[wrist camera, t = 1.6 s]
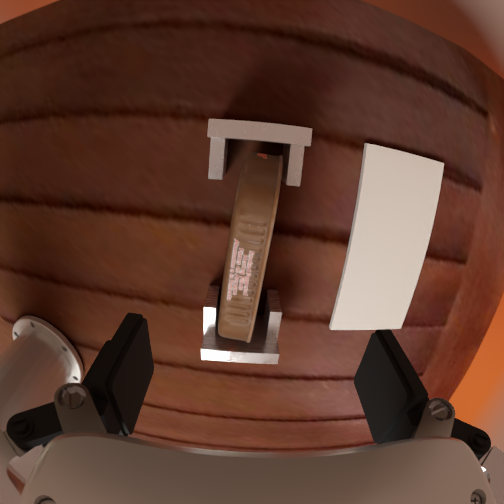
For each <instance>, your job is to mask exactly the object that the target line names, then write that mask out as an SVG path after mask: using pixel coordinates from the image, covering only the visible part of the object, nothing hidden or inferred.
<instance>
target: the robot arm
mask: <svg viewBox="0 0 504 504" xmlns="http://www.w3.org/2000/svg"><path fill="white" fill-rule="evenodd" d="M13 339H14V341H13V342H12V343H11V345H10V346H9V347H8V348H7V349H6V350H5V351H4V353H3V354H2V355H1V356H0V504H504V453H503V452H502V451H500V450H499V449H498V448H497V447H495V446H493V447H491V441H490V438H489V436H488V434H487V433H486V432H484V431H483V430H481V429H478V428H476V427H474V426H471V425H469V424H467V423H465V422H462V421H461V420H458V419H456V418H455V410H454V407H453V406H452V404H450V403H449V402H448V401H447V400H445V399H442V398H433V399H430V400H429V398H428V393H427V391H426V389H425V387H424V386H423V384H422V382H421V380H420V379H419V377H418V375H417V373H416V372H415V370H414V368H413V366H412V365H411V363H410V361H409V360H408V358H407V356H406V354H405V353H404V351H403V349H402V348H401V346H400V344H399V343H398V341H397V340H396V338H395V336H394V335H393V333H392V331H391V330H390V329H378V330H376V331H375V333H373V334H372V335H371V338H370V340H369V343H368V345H367V348H366V351H365V353H364V356H363V358H362V360H361V363H360V365H359V368H358V370H357V372H356V375H355V377H354V384H355V387H356V390H357V393H358V396H359V399H360V401H361V404H362V407H363V410H364V413H365V416H366V419H367V422H368V425H369V428H370V431H371V434H372V437H373V440H374V442H375V443H377V444H376V445H370V446H363V447H356V448H348V449H339V450H328V451H314V452H293V453H255V452H234V451H220V450H209V449H200V448H192V447H184V446H177V445H171V444H165V443H159V442H153V441H147V440H142V439H137V438H132V437H127V436H128V434H130V435H131V434H132V433H133V430H134V427H135V424H136V421H137V418H138V415H139V412H140V409H141V406H142V403H143V400H144V398H145V395H146V392H147V389H148V386H149V383H150V380H151V378H152V375H153V371H154V365H153V359H152V352H151V346H150V339H149V332H148V325H147V320H146V319H145V318H143V316H142V315H141V314H135V313H128V314H127V315H126V317H125V318H124V320H123V321H122V323H121V325H120V326H119V328H118V330H117V331H116V333H115V335H114V336H113V338H112V340H111V341H110V340H108V341H106V343H105V344H104V346H103V347H102V349H101V351H100V352H99V354H98V356H97V357H96V359H95V361H94V362H93V364H92V366H91V368H90V369H89V371H88V373H87V375H86V376H85V378H84V380H83V382H82V383H81V384H79V383H80V381H81V379H82V377H83V372H84V371H83V365H82V362H81V359H80V357H79V355H78V353H77V352H76V350H75V349H74V347H73V346H72V344H71V343H70V342H69V341H68V339H67V338H66V337H65V336H64V335H63V334H62V333H61V332H60V331H59V330H57V329H56V328H55V327H54V326H52V325H51V324H49V323H48V322H46V321H44V320H42V319H40V318H38V317H34V316H28V315H27V316H23V317H21V318H19V319H18V321H17V322H16V323H15V324H14V327H13Z"/></svg>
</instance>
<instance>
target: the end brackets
mask: <svg viewBox="0 0 504 504" xmlns="http://www.w3.org/2000/svg"><path fill="white" fill-rule="evenodd" d="M207 137H211V145H210V159H209V175H208V179H220V180H222V179H223V178H224V176H225V175H226V168H227V155H228V142H229V139H237V140H250V141H262V142H272V143H281V144H284V147H283V166H282V178H281V180H282V181H283V182H284V183H285V184H286V185H290V186H300V182H301V174H302V165H303V156H304V147H305V146H311V138H312V128H306V127H299V126H291V125H283V124H274V123H264V122H253V121H240V120H224V119H209V123H208V135H207ZM219 287H220V286H215V285H209V288H208V292H207V296H206V301H205V305H204V337H203V342H202V347H201V359H203V360H214V361H226V362H241V363H261V364H277V363H278V358H279V348H278V341H277V339H278V333H279V327H280V321H281V315H282V310H281V305H280V300H279V295H278V290H271V289H267V296H266V303H265V311H264V315H256V319H255V324H254V329H253V332H252V337H251V340H250V343H247V342H246V341H242V340H236V339H230V338H225V337H222V336H220V335H219V333H218V320H219Z"/></svg>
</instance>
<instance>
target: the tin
mask: <svg viewBox="0 0 504 504" xmlns="http://www.w3.org/2000/svg"><path fill="white" fill-rule="evenodd" d="M282 166H283V156H282V155H279V156H274V155H268V154H263V153H256V152H252V153H250V154H249V156H248V157H247V158H246V159H245V161H244V163H243V166H242V169H241V173H240V177H239V181H238V186H237V192H236V197H235V202H234V208H233V214H232V220H231V226H230V233H229V240H228V246H227V253H226V260H225V267H224V275H223V283H222V292H221V301H220V310H219V320H218V333H219V335H220V336H222V337H225V338H230V339H236V340H242V341H246V342H247V343H250V340H251V337H252V332H253V329H254V324H255V319H256V314H257V309H258V304H259V299H260V294H261V289H262V284H263V279H264V274H265V269H266V263H267V258H268V254H269V248H270V243H271V238H272V233H273V228H274V223H275V217H276V211H277V205H278V199H279V191H280V185H281V178H282Z"/></svg>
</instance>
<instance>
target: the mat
mask: <svg viewBox="0 0 504 504" xmlns="http://www.w3.org/2000/svg"><path fill="white" fill-rule="evenodd" d="M443 168H444V163H441V162H438V161H435V160H432V159H428V158H425V157H421V156H418V155H414V154H410V153H406V152H403V151H399V150H395V149H391V148H386V147H382V146H378V145H373V144H369V143H365V144H364V152H363V160H362V168H361V175H360V182H359V188H358V195H357V201H356V207H355V213H354V218H353V224H352V229H351V235H350V240H349V245H348V250H347V254H346V259H345V264H344V268H343V273H342V277H341V282H340V286H339V290H338V294H337V298H336V302H335V306H334V310H333V314H332V318H331V321H330V325H329V328H330V330H378V329H401V326H402V324H403V321H404V319H405V316H406V313H407V310H408V308H409V305H410V302H411V299H412V296H413V293H414V290H415V287H416V284H417V281H418V278H419V275H420V271H421V268H422V265H423V261H424V258H425V254H426V250H427V247H428V243H429V239H430V235H431V231H432V227H433V222H434V218H435V213H436V208H437V203H438V198H439V193H440V187H441V181H442V175H443Z"/></svg>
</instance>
